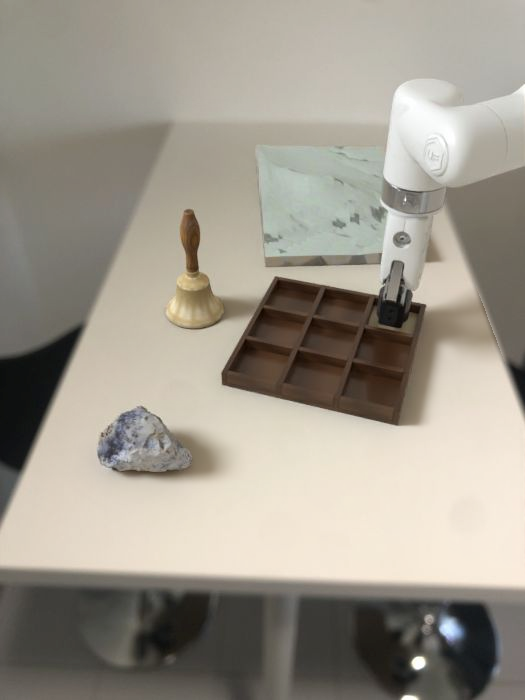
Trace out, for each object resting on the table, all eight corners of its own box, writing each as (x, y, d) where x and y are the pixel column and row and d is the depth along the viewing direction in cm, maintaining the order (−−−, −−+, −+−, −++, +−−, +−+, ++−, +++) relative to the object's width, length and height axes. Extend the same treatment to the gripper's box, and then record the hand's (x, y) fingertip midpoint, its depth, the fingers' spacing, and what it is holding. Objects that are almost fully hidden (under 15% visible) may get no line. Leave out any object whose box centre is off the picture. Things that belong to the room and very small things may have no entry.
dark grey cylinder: (411, 308, 93) (415, 286, 90) (406, 327, 90) (410, 305, 87) (379, 302, 94) (382, 280, 92) (373, 320, 91) (376, 299, 88)
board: (424, 316, 95) (426, 304, 94) (397, 425, 79) (399, 413, 78) (274, 287, 100) (275, 275, 99) (221, 384, 84) (221, 372, 83)
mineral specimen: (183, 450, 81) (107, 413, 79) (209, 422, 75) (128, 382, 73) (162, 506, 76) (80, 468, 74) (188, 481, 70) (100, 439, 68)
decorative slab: (244, 159, 133) (244, 134, 130) (381, 156, 134) (384, 131, 131) (251, 267, 104) (251, 239, 101) (425, 262, 105) (430, 234, 102)
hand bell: (232, 299, 98) (229, 200, 88) (212, 334, 92) (205, 231, 82) (179, 289, 100) (169, 190, 89) (156, 322, 94) (143, 221, 83)
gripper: (436, 232, 73) (411, 358, 85) (453, 165, 85) (429, 284, 97) (367, 220, 75) (352, 346, 87) (394, 157, 87) (377, 275, 99)
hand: (393, 312), depth 92 cm, fingers closed on dark grey cylinder, 4 cm apart
